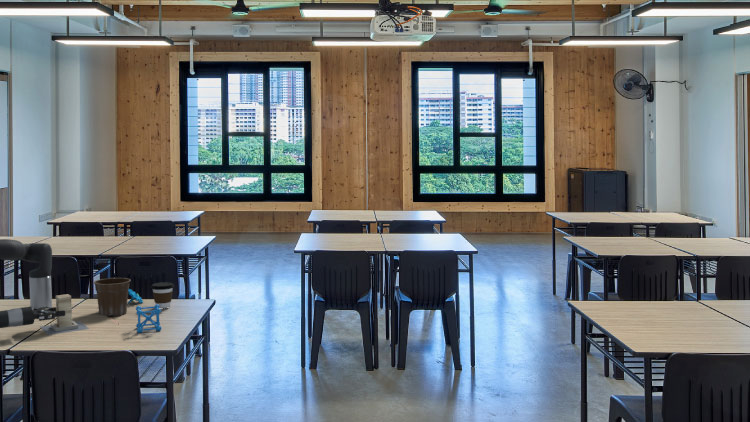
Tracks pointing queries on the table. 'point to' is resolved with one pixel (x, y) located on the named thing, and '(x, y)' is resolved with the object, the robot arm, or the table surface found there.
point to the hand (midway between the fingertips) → (62, 310)
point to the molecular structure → (148, 318)
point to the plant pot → (112, 296)
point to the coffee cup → (162, 293)
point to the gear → (134, 296)
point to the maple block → (64, 305)
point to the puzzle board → (64, 328)
